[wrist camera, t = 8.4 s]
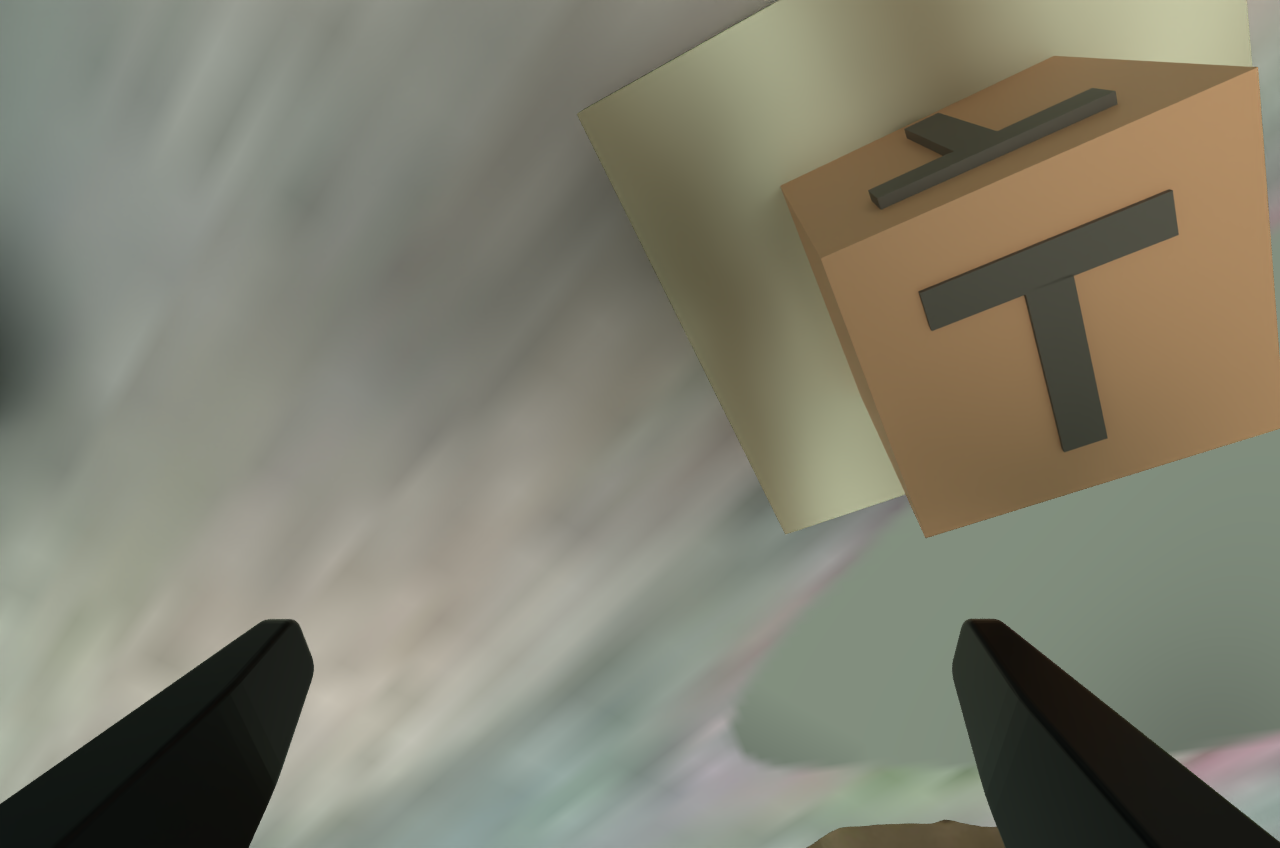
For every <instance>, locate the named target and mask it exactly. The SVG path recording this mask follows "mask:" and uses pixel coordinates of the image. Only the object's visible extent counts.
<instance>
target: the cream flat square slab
mask: <svg viewBox="0 0 1280 848" xmlns="http://www.w3.org/2000/svg"><path fill="white" fill-rule="evenodd" d="M1052 56H1066V57H1084V58H1102V59H1120V60H1138V61H1156V62H1174V63H1192V64H1210V65H1228V66H1246V67H1252V59H1251V47H1250V35H1249V23H1248V11H1247V0H778V1H777V2H775V3H773V4H771V5H769V6H768V7H766V8H764V9H762V10H760V11H759V12H757V13H755V14H753V15H752V16H750V17H748V18H746V19H744V20H743V21H741V22H739V23H737V24H735V25H734V26H732V27H730V28H728V29H727V30H725V31H723V32H721V33H719V34H718V35H716V36H714V37H712V38H710V39H709V40H707V41H705V42H703V43H701V44H700V45H698V46H696V47H694V48H693V49H691V50H689V51H687V52H685V53H684V54H682V55H680V56H678V57H676V58H675V59H673V60H671V61H669V62H668V63H666V64H664V65H662V66H660V67H659V68H657V69H655V70H653V71H651V72H650V73H648V74H646V75H644V76H643V77H641V78H639V79H637V80H635V81H634V82H632V83H630V84H628V85H626V86H625V87H623V88H621V89H619V90H617V91H616V92H614V93H612V94H610V95H609V96H607V97H605V98H603V99H601V100H600V101H598V102H596V103H594V104H592V105H591V106H589V107H587V108H585V109H584V110H582V111H581V112H579V113H577V116H578V118H579V120H580V122H581V124H582V126H583V128H584V130H585V132H586V134H587V136H588V138H589V140H590V142H591V144H592V146H593V148H594V150H595V152H596V154H597V156H598V158H599V160H600V162H601V164H602V166H603V168H604V170H605V172H606V174H607V176H608V178H609V180H610V182H611V184H612V186H613V188H614V190H615V192H616V194H617V196H618V198H619V200H620V202H621V204H622V206H623V208H624V210H625V212H626V214H627V216H628V218H629V220H630V222H631V224H632V226H633V228H634V230H635V232H636V234H637V236H638V238H639V240H640V242H641V244H642V246H643V249H644V251H645V253H646V255H647V257H648V259H649V261H650V263H651V265H652V267H653V269H654V271H655V273H656V275H657V277H658V279H659V281H660V283H661V285H662V287H663V289H664V291H665V293H666V295H667V297H668V299H669V301H670V303H671V305H672V307H673V309H674V311H675V313H676V315H677V317H678V319H679V321H680V323H681V325H682V327H683V329H684V331H685V333H686V335H687V337H688V339H689V341H690V343H691V345H692V347H693V349H694V351H695V353H696V355H697V357H698V359H699V361H700V363H701V365H702V367H703V369H704V371H705V373H706V375H707V377H708V380H709V382H710V384H711V386H712V388H713V390H714V392H715V394H716V396H717V398H718V400H719V402H720V404H721V406H722V408H723V410H724V412H725V414H726V416H727V418H728V420H729V422H730V424H731V426H732V428H733V430H734V432H735V434H736V436H737V438H738V440H739V442H740V444H741V446H742V448H743V450H744V452H745V454H746V456H747V458H748V460H749V462H750V464H751V466H752V468H753V470H754V472H755V474H756V476H757V478H758V480H759V482H760V484H761V486H762V488H763V490H764V492H765V494H766V496H767V498H768V500H769V502H770V504H771V506H772V508H773V510H774V513H775V515H776V517H777V519H778V521H779V523H780V525H781V527H782V529H783V531H784V533H785V534H788V533H791V532H794V531H797V530H800V529H803V528H806V527H809V526H812V525H815V524H818V523H821V522H824V521H827V520H830V519H833V518H836V517H839V516H842V515H845V514H848V513H851V512H854V511H857V510H860V509H863V508H866V507H869V506H872V505H875V504H878V503H881V502H884V501H887V500H890V499H893V498H896V497H899V496H902V495H905V492H904V490H903V488H902V485H901V483H900V481H899V479H898V477H897V474H896V472H895V470H894V468H893V466H892V463H891V461H890V459H889V457H888V455H887V453H886V450H885V448H884V446H883V444H882V442H881V439H880V437H879V435H878V433H877V431H876V428H875V426H874V424H873V422H872V420H871V418H870V415H869V413H868V411H867V409H866V407H865V404H864V402H863V400H862V398H861V396H860V393H859V390H858V388H857V385H856V383H855V380H854V377H853V375H852V372H851V370H850V367H849V364H848V362H847V359H846V356H845V354H844V351H843V349H842V346H841V343H840V341H839V338H838V336H837V333H836V330H835V328H834V325H833V323H832V320H831V317H830V315H829V312H828V310H827V307H826V304H825V302H824V299H823V297H822V294H821V291H820V289H819V286H818V284H817V281H816V278H815V276H814V273H813V271H812V268H811V265H810V263H809V260H808V257H807V255H806V252H805V250H804V247H803V244H802V242H801V239H800V237H799V234H798V231H797V229H796V226H795V224H794V221H793V218H792V216H791V213H790V211H789V208H788V205H787V203H786V200H785V198H784V195H783V192H782V190H781V187H780V186H781V185H783V184H785V183H787V182H789V181H791V180H793V179H796V178H798V177H800V176H802V175H804V174H806V173H808V172H810V171H812V170H815V169H817V168H819V167H821V166H823V165H825V164H827V163H829V162H831V161H833V160H836V159H838V158H840V157H842V156H844V155H846V154H848V153H850V152H852V151H855V150H857V149H859V148H861V147H863V146H865V145H867V144H869V143H871V142H873V141H876V140H878V139H880V138H882V137H884V136H886V135H888V134H890V133H892V132H894V131H897V130H899V129H901V128H903V127H905V126H907V125H909V124H911V123H913V122H916V121H918V120H920V119H922V118H924V117H926V116H928V115H930V114H932V113H934V112H937V111H939V110H941V109H943V108H945V107H947V106H949V105H951V104H953V103H956V102H958V101H960V100H962V99H964V98H966V97H968V96H970V95H972V94H974V93H977V92H979V91H981V90H983V89H985V88H987V87H989V86H991V85H993V84H996V83H998V82H1000V81H1002V80H1004V79H1006V78H1008V77H1010V76H1012V75H1014V74H1017V73H1019V72H1021V71H1023V70H1025V69H1027V68H1029V67H1031V66H1033V65H1036V64H1038V63H1040V62H1042V61H1044V60H1046V59H1048V58H1050V57H1052Z"/></svg>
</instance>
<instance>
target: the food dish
mask: <svg viewBox="0 0 1280 848" xmlns="http://www.w3.org/2000/svg"><path fill="white" fill-rule="evenodd" d="M807 848H1005V846H1004V843H1003V841H1002V838H1001V836H1000V833H999V830H998V828H997V827H980V826H976V825H969V824H964V823H959V822H955V821H951V820H942V821H939V822H936V823H932V824H885V825H872V826H860V827H843V828H839V829H837V830H834V831H832V832H830V833H828V834H827V835H825V836H824V837H822V838H821V839H819V840H818V841H816V842H815V843H814V844H812V845H811V846H809V847H807Z"/></svg>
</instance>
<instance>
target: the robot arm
mask: <svg viewBox="0 0 1280 848" xmlns="http://www.w3.org/2000/svg"><path fill="white" fill-rule="evenodd" d="M313 672H314V664H313V659H312V656H311V653H310V651H309V648H308V646H307V643H306V640H305V638H304V635H303V633H302V630H301V628H300V625H299V624H298V623H297V622H296V621H295V620H292V619H268V620H264V621H262V622H260V623H259V624H257V625H256V626H254V627H253V628H251V629H250V630H248V631H247V632H246V633H244V634H243V635H241V636H240V637H238V638H237V639H236V640H234V641H233V642H231V643H230V644H228V645H227V646H226V647H224V648H223V649H221V650H220V651H218V652H217V653H216V654H214V655H213V656H211V657H210V658H208V659H207V660H206V661H204V662H203V663H201V664H200V665H198V666H197V667H196V668H194V669H193V670H191V671H190V672H188V673H187V674H186V675H184V676H183V677H181V678H180V679H178V680H177V681H176V682H174V683H173V684H171V685H170V686H168V687H167V688H166V689H164V690H163V691H161V692H160V693H158V694H157V695H156V696H154V697H153V698H151V699H150V700H148V701H147V702H146V703H144V704H143V705H141V706H140V707H138V708H137V709H136V710H134V711H133V712H131V713H130V714H128V715H127V716H125V717H124V718H123V719H121V720H120V721H118V722H117V723H115V724H114V725H113V726H111V727H110V728H108V729H107V730H105V731H104V732H103V733H101V734H100V735H98V736H97V737H95V738H94V739H93V740H91V741H90V742H88V743H87V744H85V745H84V746H83V747H81V748H80V749H78V750H77V751H75V752H74V753H73V754H71V755H70V756H68V757H67V758H65V759H64V760H63V761H61V762H60V763H58V764H57V765H55V766H54V767H53V768H51V769H50V770H48V771H47V772H45V773H44V774H43V775H41V776H40V777H38V778H37V779H35V780H34V781H33V782H31V783H30V784H28V785H27V786H25V787H24V788H23V789H21V790H20V791H18V792H17V793H15V794H14V795H12V796H11V797H10V798H8V799H7V800H5V801H4V802H2V803H1V804H0V848H249V846H250V843H251V841H252V839H253V837H254V834H255V832H256V830H257V828H258V825H259V823H260V821H261V819H262V817H263V814H264V812H265V810H266V808H267V805H268V803H269V801H270V798H271V796H272V794H273V791H274V789H275V786H276V784H277V781H278V778H279V776H280V773H281V770H282V767H283V764H284V761H285V758H286V755H287V752H288V749H289V746H290V743H291V740H292V737H293V735H294V732H295V729H296V726H297V723H298V720H299V717H300V714H301V711H302V708H303V705H304V702H305V699H306V696H307V693H308V690H309V687H310V684H311V681H312V677H313ZM952 673H953V680H954V684H955V687H956V691H957V695H958V698H959V702H960V705H961V709H962V713H963V717H964V721H965V724H966V728H967V731H968V735H969V739H970V743H971V746H972V750H973V754H974V757H975V761H976V764H977V768H978V772H979V775H980V779H981V782H982V786H983V789H984V792H985V796H986V798H987V801H988V804H989V807H990V810H991V812H992V815H993V818H994V820H995V823H996V825H997V828H998V830H999V833H1000V836H1001V838H1002V841H1003V843H1004V846H1005V848H1280V842H1279V841H1278V840H1277V839H1275V838H1274V837H1273V836H1271V835H1270V834H1269V833H1268V832H1266V831H1265V830H1264V829H1263V828H1261V827H1260V826H1259V825H1258V824H1256V823H1255V822H1254V821H1253V820H1251V819H1250V818H1249V817H1248V816H1246V815H1245V814H1244V813H1242V812H1241V811H1240V810H1239V809H1237V808H1236V807H1235V806H1234V805H1232V804H1231V803H1230V802H1229V801H1227V800H1226V799H1225V798H1224V797H1222V796H1221V795H1220V794H1219V793H1217V792H1216V791H1215V790H1214V789H1212V788H1211V787H1210V786H1209V785H1207V784H1206V783H1205V782H1203V781H1202V780H1201V779H1200V778H1198V777H1197V776H1196V775H1195V774H1193V773H1192V772H1191V771H1190V770H1188V769H1187V768H1186V767H1185V766H1183V765H1182V764H1181V763H1180V762H1178V761H1177V760H1176V759H1174V758H1173V757H1172V756H1171V755H1169V754H1168V753H1167V752H1166V751H1164V750H1163V749H1162V748H1161V747H1159V746H1158V745H1157V744H1156V743H1154V742H1153V741H1152V740H1151V739H1149V738H1148V737H1147V736H1145V735H1144V734H1143V733H1142V732H1140V731H1139V730H1138V729H1137V728H1135V727H1134V726H1133V725H1132V724H1130V723H1129V722H1128V721H1127V720H1125V719H1124V718H1123V717H1122V716H1120V715H1119V714H1118V713H1117V712H1115V711H1114V710H1113V709H1112V708H1110V707H1109V706H1108V705H1106V704H1105V703H1104V702H1103V701H1101V700H1100V699H1099V698H1098V697H1096V696H1095V695H1094V694H1093V693H1091V692H1090V691H1089V690H1088V689H1086V688H1085V687H1084V686H1083V685H1081V684H1080V683H1079V682H1078V681H1076V680H1075V679H1074V678H1072V677H1071V676H1070V675H1068V674H1067V673H1066V672H1065V671H1064V670H1062V669H1061V668H1060V667H1059V666H1057V665H1056V664H1055V663H1053V662H1052V661H1051V660H1050V659H1049V658H1047V657H1046V656H1045V655H1043V654H1042V653H1041V652H1040V651H1038V650H1037V649H1036V648H1035V647H1033V646H1032V645H1031V644H1030V643H1028V642H1027V641H1026V640H1024V639H1023V638H1022V637H1021V636H1020V635H1018V634H1017V633H1016V632H1015V631H1013V630H1012V629H1011V628H1010V627H1008V626H1007V625H1006V624H1004V623H1003V622H1001V621H999V620H996V619H968V620H966V621H965V622H964V623H963V625H962V628H961V631H960V635H959V639H958V643H957V647H956V651H955V655H954V659H953V665H952Z"/></svg>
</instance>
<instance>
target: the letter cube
mask: <svg viewBox="0 0 1280 848" xmlns="http://www.w3.org/2000/svg"><path fill="white" fill-rule="evenodd" d="M780 187H781V190H782V192H783V195H784V198H785V200H786V203H787V205H788V208H789V211H790V213H791V216H792V218H793V221H794V224H795V226H796V229H797V231H798V234H799V237H800V239H801V242H802V244H803V247H804V250H805V252H806V255H807V257H808V260H809V263H810V265H811V268H812V271H813V273H814V276H815V278H816V281H817V284H818V286H819V289H820V291H821V294H822V297H823V299H824V302H825V304H826V307H827V310H828V312H829V315H830V317H831V320H832V323H833V325H834V328H835V330H836V333H837V336H838V338H839V341H840V343H841V346H842V349H843V351H844V354H845V356H846V359H847V362H848V364H849V367H850V370H851V372H852V375H853V377H854V380H855V383H856V385H857V388H858V390H859V393H860V396H861V398H862V400H863V402H864V404H865V407H866V409H867V411H868V413H869V415H870V418H871V420H872V422H873V424H874V426H875V428H876V431H877V433H878V435H879V437H880V439H881V442H882V444H883V446H884V448H885V450H886V453H887V455H888V457H889V459H890V461H891V463H892V466H893V468H894V470H895V472H896V474H897V477H898V479H899V481H900V483H901V485H902V488H903V490H904V492H905V494H906V496H907V498H908V501H909V503H910V505H911V507H912V509H913V512H914V514H915V516H916V518H917V520H918V522H919V525H920V527H921V529H922V531H923V533H924V536H925V538H928V537H931V536H934V535H937V534H941V533H944V532H947V531H951V530H954V529H957V528H960V527H964V526H967V525H970V524H973V523H976V522H979V521H983V520H986V519H989V518H993V517H996V516H999V515H1002V514H1006V513H1009V512H1012V511H1015V510H1018V509H1021V508H1025V507H1028V506H1031V505H1034V504H1038V503H1041V502H1044V501H1047V500H1051V499H1054V498H1057V497H1061V496H1064V495H1067V494H1070V493H1073V492H1076V491H1080V490H1083V489H1086V488H1089V487H1093V486H1096V485H1099V484H1103V483H1106V482H1109V481H1112V480H1115V479H1118V478H1122V477H1125V476H1128V475H1131V474H1135V473H1138V472H1141V471H1144V470H1148V469H1151V468H1154V467H1157V466H1160V465H1164V464H1167V463H1170V462H1174V461H1177V460H1180V459H1183V458H1187V457H1190V456H1193V455H1196V454H1199V453H1203V452H1206V451H1209V450H1212V449H1216V448H1219V447H1222V446H1225V445H1228V444H1232V443H1235V442H1238V441H1241V440H1245V439H1248V438H1251V437H1254V436H1257V435H1261V434H1264V433H1267V432H1271V431H1273V430H1277V429H1280V357H1279V343H1278V331H1277V317H1276V304H1275V290H1274V276H1273V264H1272V250H1271V236H1270V223H1269V209H1268V196H1267V183H1266V169H1265V156H1264V142H1263V129H1262V115H1261V102H1260V89H1259V75H1258V67H1246V66H1228V65H1210V64H1192V63H1174V62H1156V61H1138V60H1120V59H1102V58H1084V57H1066V56H1052V57H1050V58H1048V59H1046V60H1044V61H1042V62H1040V63H1038V64H1036V65H1033V66H1031V67H1029V68H1027V69H1025V70H1023V71H1021V72H1019V73H1017V74H1014V75H1012V76H1010V77H1008V78H1006V79H1004V80H1002V81H1000V82H998V83H996V84H993V85H991V86H989V87H987V88H985V89H983V90H981V91H979V92H977V93H974V94H972V95H970V96H968V97H966V98H964V99H962V100H960V101H958V102H956V103H953V104H951V105H949V106H947V107H945V108H943V109H941V110H939V111H937V112H934V113H932V114H930V115H928V116H926V117H924V118H922V119H920V120H918V121H916V122H913V123H911V124H909V125H907V126H905V127H903V128H901V129H899V130H897V131H894V132H892V133H890V134H888V135H886V136H884V137H882V138H880V139H878V140H876V141H873V142H871V143H869V144H867V145H865V146H863V147H861V148H859V149H857V150H855V151H852V152H850V153H848V154H846V155H844V156H842V157H840V158H838V159H836V160H833V161H831V162H829V163H827V164H825V165H823V166H821V167H819V168H817V169H815V170H812V171H810V172H808V173H806V174H804V175H802V176H800V177H798V178H796V179H793V180H791V181H789V182H787V183H785V184H783V185H781V186H780Z"/></svg>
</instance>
